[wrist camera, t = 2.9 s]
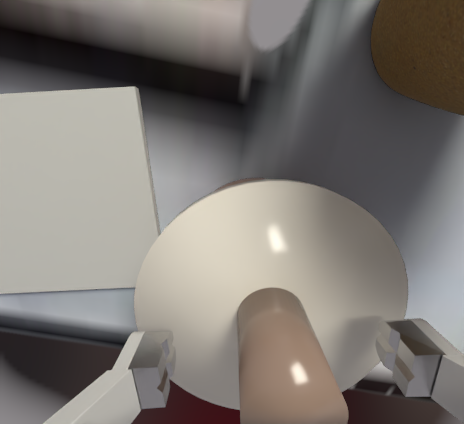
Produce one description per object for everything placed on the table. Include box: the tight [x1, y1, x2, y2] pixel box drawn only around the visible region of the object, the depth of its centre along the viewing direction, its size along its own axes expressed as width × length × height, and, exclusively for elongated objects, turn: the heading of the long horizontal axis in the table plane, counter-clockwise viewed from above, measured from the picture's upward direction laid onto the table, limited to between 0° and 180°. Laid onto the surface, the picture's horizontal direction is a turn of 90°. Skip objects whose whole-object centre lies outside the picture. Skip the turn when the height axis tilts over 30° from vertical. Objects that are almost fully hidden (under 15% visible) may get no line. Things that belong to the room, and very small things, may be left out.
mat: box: [0, 87, 161, 294], centre depth 16 cm, size 14×14×1 cm
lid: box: [134, 179, 408, 424], centre depth 9 cm, size 12×12×5 cm
